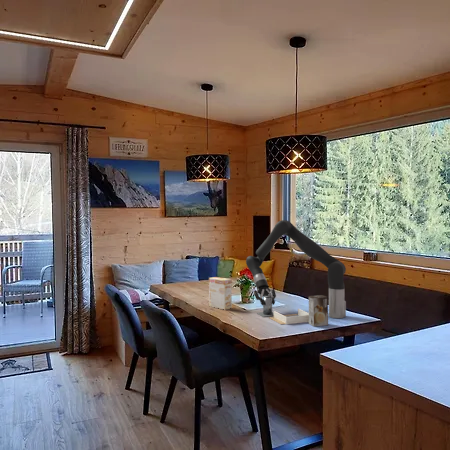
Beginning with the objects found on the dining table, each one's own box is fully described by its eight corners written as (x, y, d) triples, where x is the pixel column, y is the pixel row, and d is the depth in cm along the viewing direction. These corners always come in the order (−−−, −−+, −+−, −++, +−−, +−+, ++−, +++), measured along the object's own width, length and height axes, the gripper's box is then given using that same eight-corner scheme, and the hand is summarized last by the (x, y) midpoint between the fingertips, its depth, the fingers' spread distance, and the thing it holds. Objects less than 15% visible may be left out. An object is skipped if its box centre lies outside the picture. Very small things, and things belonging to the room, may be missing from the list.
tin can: (269, 312, 271) (269, 296, 271) (273, 314, 266) (273, 298, 266) (261, 313, 269) (261, 297, 269) (265, 315, 264) (265, 298, 264)
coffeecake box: (232, 308, 285) (232, 279, 284) (224, 310, 280) (224, 280, 279) (216, 304, 296) (216, 276, 295) (208, 306, 291) (208, 277, 290)
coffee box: (322, 322, 248) (323, 294, 248) (328, 325, 242) (328, 297, 242) (308, 323, 246) (308, 295, 245) (313, 326, 240) (313, 298, 239)
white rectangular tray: (301, 313, 269) (301, 307, 269) (317, 321, 252) (317, 314, 252) (267, 317, 262) (267, 310, 261) (281, 324, 244) (281, 317, 244)
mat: (271, 312, 274) (271, 311, 274) (278, 315, 265) (278, 315, 265) (256, 313, 271) (256, 312, 271) (263, 317, 261) (263, 316, 261)
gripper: (252, 279, 272) (259, 301, 261) (272, 278, 276) (281, 300, 266) (248, 286, 277) (256, 308, 266) (269, 285, 281) (277, 306, 271)
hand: (268, 304), depth 266 cm, fingers open, 6 cm apart
